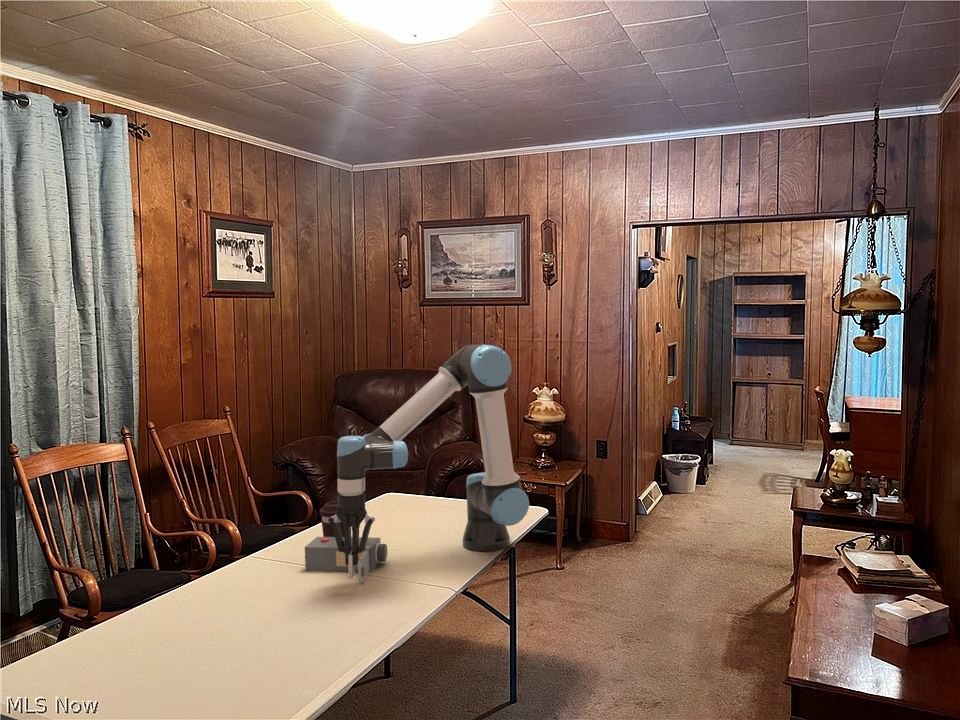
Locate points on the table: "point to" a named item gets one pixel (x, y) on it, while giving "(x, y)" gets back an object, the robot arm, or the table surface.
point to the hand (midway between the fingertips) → (351, 576)
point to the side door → (363, 566)
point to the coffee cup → (326, 513)
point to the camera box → (340, 554)
